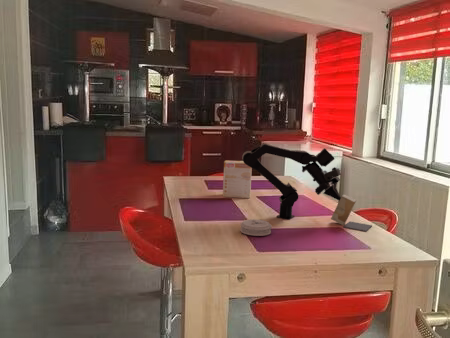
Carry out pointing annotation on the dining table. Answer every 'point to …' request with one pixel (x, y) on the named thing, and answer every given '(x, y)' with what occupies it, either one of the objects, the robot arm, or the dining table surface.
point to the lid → (255, 227)
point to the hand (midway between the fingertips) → (340, 199)
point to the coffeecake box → (236, 179)
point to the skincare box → (343, 209)
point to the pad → (357, 226)
